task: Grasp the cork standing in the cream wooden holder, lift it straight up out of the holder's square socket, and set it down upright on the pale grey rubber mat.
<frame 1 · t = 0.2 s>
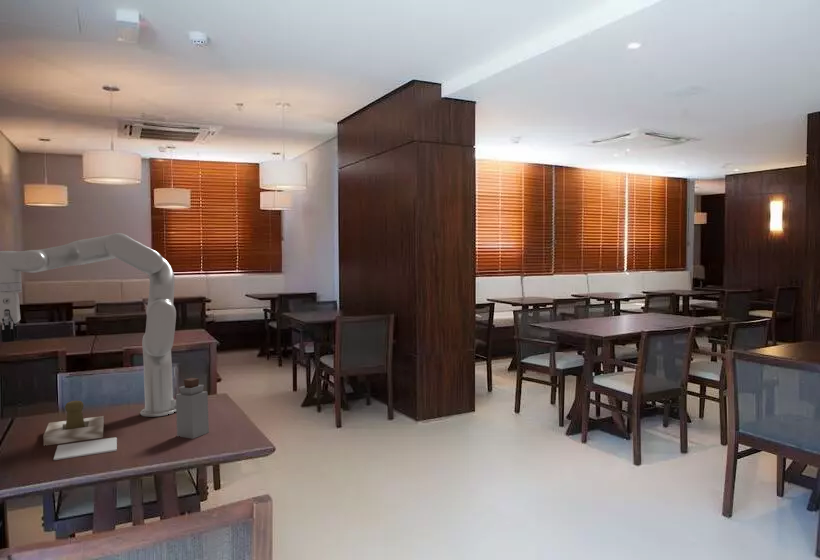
hand: (10, 339, 190), 31 cm above the table, tool pointing down, fingers open, 9 cm apart
shaker holder: (75, 434, 187), on the table
perfume bottle: (193, 434, 185), on the table
grey mat: (87, 448, 172), on the table
cork: (75, 435, 187), resting in shaker holder
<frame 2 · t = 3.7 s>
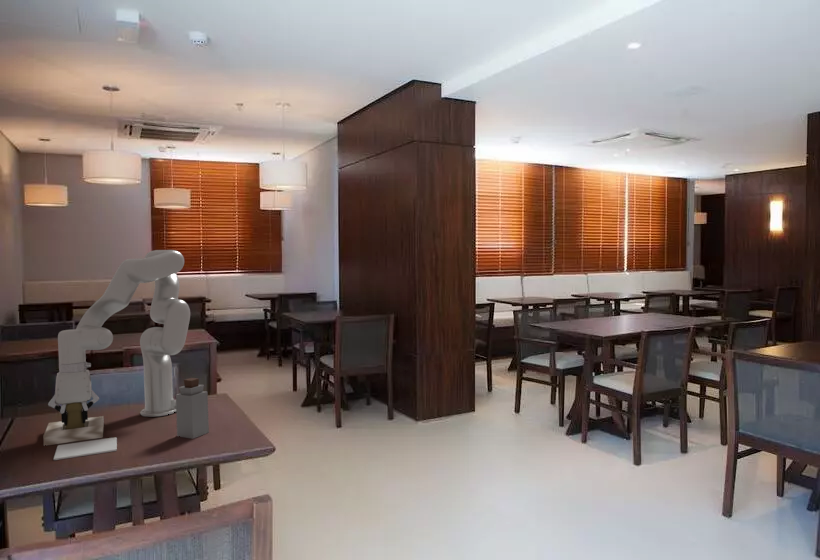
hand: (75, 422, 186), 4 cm above the table, tool pointing down, fingers closed on cork, 4 cm apart
cork: (75, 435, 187), resting in shaker holder, touching gripper
everything else where it was.
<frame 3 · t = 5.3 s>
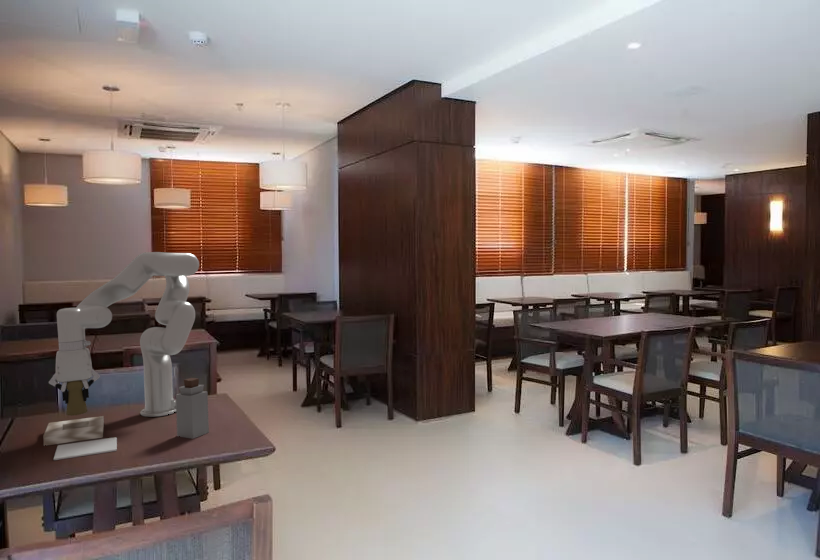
hand: (76, 400, 187), 11 cm above the table, tool pointing down, fingers closed on cork, 4 cm apart
cork: (77, 413, 187), point 7 cm above the table, touching gripper
everything else where it was.
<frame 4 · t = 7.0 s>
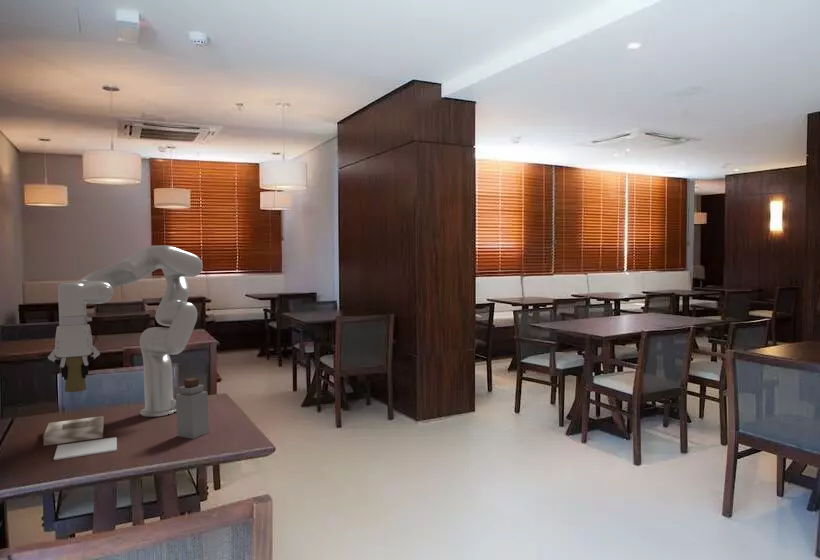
hand: (75, 377, 182), 19 cm above the table, tool pointing down, fingers closed on cork, 4 cm apart
cork: (75, 390, 183), point 15 cm above the table, touching gripper
everything else where it was.
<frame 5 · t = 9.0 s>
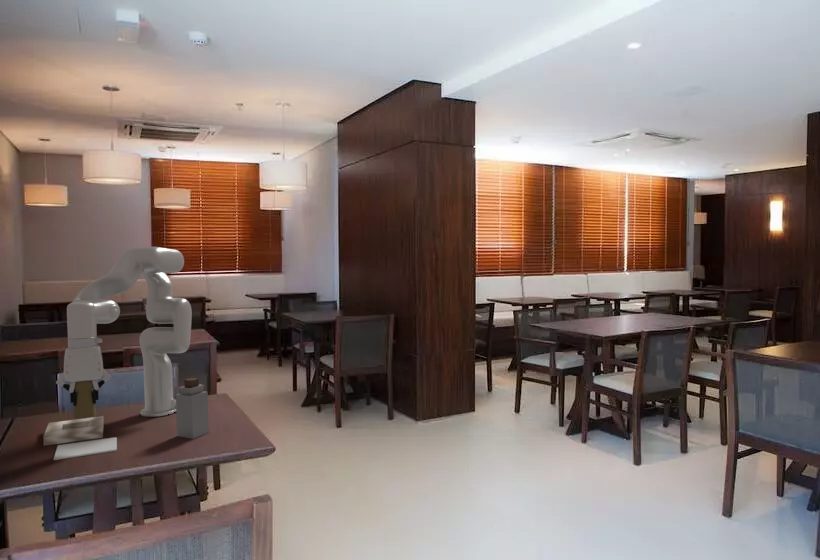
hand: (84, 403, 172), 14 cm above the table, tool pointing down, fingers closed on cork, 4 cm apart
cork: (85, 416, 172), point 10 cm above the table, touching gripper
everything else where it was.
when the fingers open (6 cm above the table, at t = 10.8 s): cork drops 1 cm, resting on grey mat.
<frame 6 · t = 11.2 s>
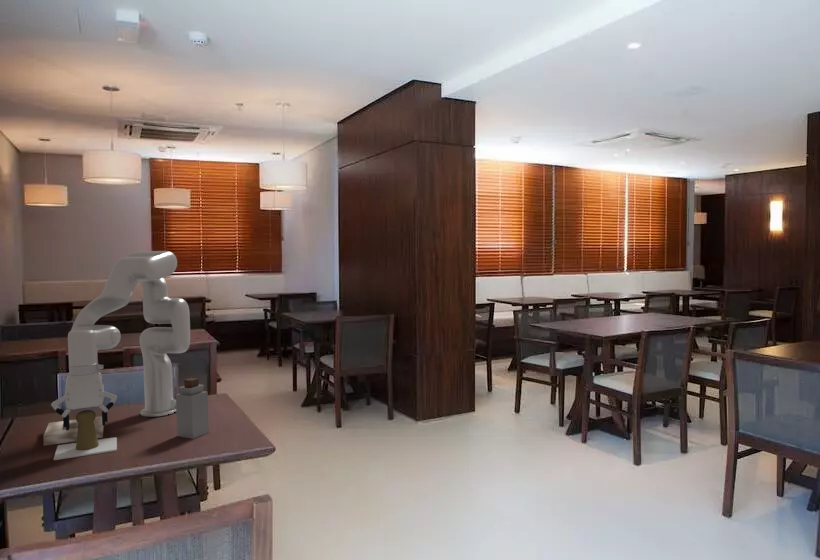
hand: (86, 426, 172), 7 cm above the table, tool pointing down, fingers open, 9 cm apart
cork: (87, 447, 173), resting on grey mat
everything else where it was.
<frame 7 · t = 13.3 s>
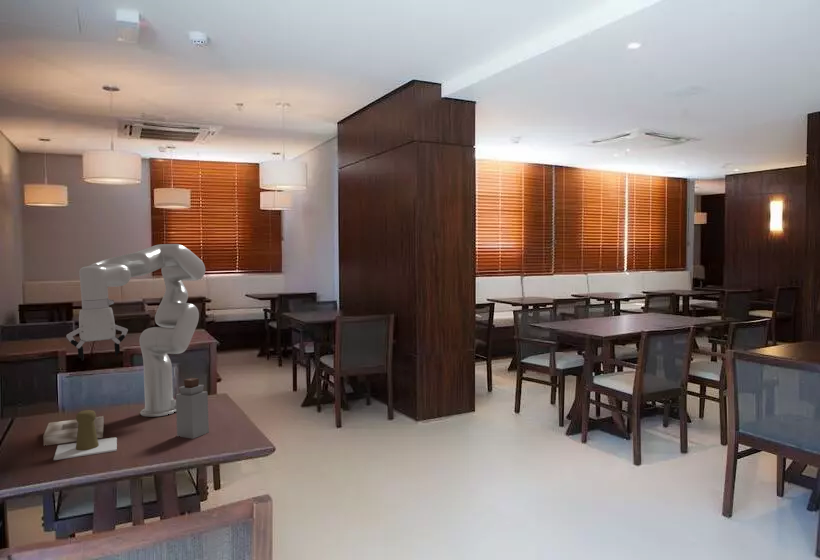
hand: (99, 357, 184), 25 cm above the table, tool pointing down, fingers open, 9 cm apart
nothing on the table moved.
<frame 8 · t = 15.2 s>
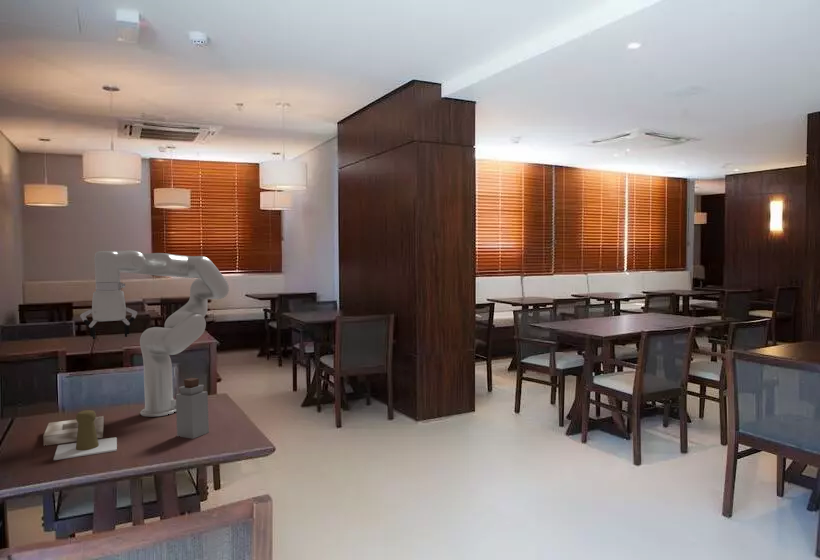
hand: (110, 337, 195), 30 cm above the table, tool pointing down, fingers open, 9 cm apart
nothing on the table moved.
at the end: cork inside the target area on the grey mat (0.2 cm from its centre), point 0.3 cm above the grey mat's base; cork tilted 0°; the gripper is holding nothing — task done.
